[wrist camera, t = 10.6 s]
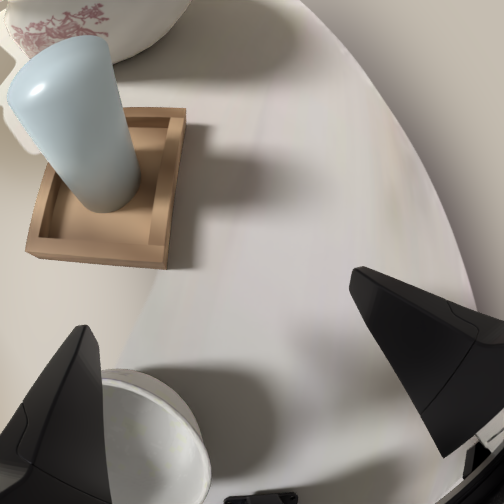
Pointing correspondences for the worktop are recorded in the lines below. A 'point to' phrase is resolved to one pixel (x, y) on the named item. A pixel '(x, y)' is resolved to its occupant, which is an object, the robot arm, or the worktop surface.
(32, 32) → the chamber pot
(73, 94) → the pale blue rounded cylinder
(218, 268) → the worktop surface
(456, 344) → the robot arm
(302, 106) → the worktop surface
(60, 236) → the tray
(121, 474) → the teacup
